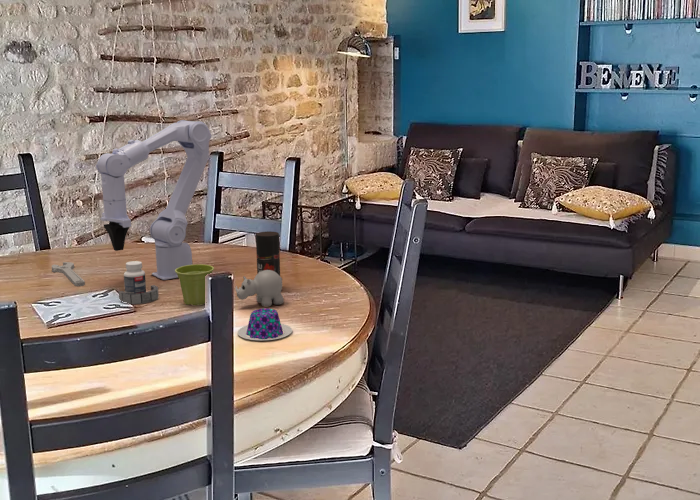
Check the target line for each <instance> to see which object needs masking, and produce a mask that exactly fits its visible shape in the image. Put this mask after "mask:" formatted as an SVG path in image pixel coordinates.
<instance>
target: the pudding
mask: <svg viewBox="0 0 700 500" xmlns="http://www.w3.org/2000/svg"><path fill="white" fill-rule="evenodd" d="M280 319H281V318H280V316H279V312H278V311H277V309H273V308H269V307H267V308H264V307H262V308H258V309H254V310H253V311H252V312H251V313H250V315H249V318H248V324H247V325H244V326H243V327H240V328H239V329H238V330H237V335H238V336H240V338H243V339H245V340H251V341H272V340H280V339H283V338H285V337H287V336H289V335H291V334H292V332H293V328H292V327H291V326H289V325H287V324H285V323H282V322H281V320H280Z"/></svg>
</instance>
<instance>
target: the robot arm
mask: <svg viewBox="0 0 700 500" xmlns="http://www.w3.org/2000/svg"><path fill="white" fill-rule="evenodd" d="M211 139H212V133H211V131H210V129H209V126H208V125H207V124H206V123H205V122H203V121H199V120H196V121H195V120H194V121H193V120H185V119H181V120H178V121H176V122H173V123H170V124H169V125H168V126H166V127H165V128H163V129H161V130H160V131H158V132H157V133H155V134H153V135H151V136H149V137H148V138H146V139H145V140H139V139H135V140H134V139H129V140H127V144H125V145H123V146H121V147H119V148H117V147H115V148H113V149H112V152H111V153H109V152H106V153H102V155H100V157H99V158H98V160H97V164H95V168H96V170H97V171H98V173H99V174H100V176H101V177H100V178H101V188H102V189H101V191H102V202H103V212H101V217H100V218H99V220H100V221H102V222H105V221H106V222H108V223H107V224H103V228H104V229H105V231H106V232H107V235H108V237H109V239H110V242H111V246H112V249H113V250H114V251H115V252H120V251H123V250H124V247H125V242H126V237H127V234H128V231H129V229H130V228H132V219H130V218H129V215H128V209H127V197H126V184H125V175H126V173H127V171H128V170H129V169H131V168H132V167H134V166H136V165H138V164H140V163H142V162H144V161H147V159H148V158H149V155H150V153H151V152H154V151H156V150H157V149H159V148H161V147H164V146H166V145H168V144H170V143H172V142H177V143H178V144H179V145H180V146H181V147H182V149H183V150H184V152H185V154H186V156H187V157H186V160H185V163H184V165H183V167H182V170H181V172H180V174H179V177H178V179H177V182H176V183H175V186H174V189H173V191H172V193H171V196H170V198H169V201H168V203H167V206H166V208H165V209H163V210H161V211H160V212H159V213H158V216H157V218H155V219H154V220H153V221H152V223H151V224H150V227H149V235H150V237H151V238H152V239H153V241H154V249H155V261H156V262H155V263H156V271H155V272H152V273H151V276H154V277H155V278H158V279H161V280H162V281H166V280H167V281H168V280H171V279H179V278H178V275H177V273H176V272H175V269H177V268H179V267H182V266H186V265H193V253H192V248H191V246H190V244H189V243H188V242H184V240H185V239H186V234H187V232H186V231H187V226H188V220H187V217H186V213H188V212H187V211H188V209H189V206H190V204H191V202H192V199H193V197H194V195H195V192H196V189H197V187H198V186H199V185H198V184H199V182H200V180H201V177H202V175H203V172H204V170H205V168H206V165H207V163H208V160H209V159H210V158H209V155H210V141H211Z"/></svg>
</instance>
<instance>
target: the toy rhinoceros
mask: <svg viewBox="0 0 700 500" xmlns="http://www.w3.org/2000/svg"><path fill="white" fill-rule="evenodd" d="M234 289H235V290H234V291H235V292H236V297H237V298H238V299H239V300H243V301H244V300H245V299H247V298H248V297H252V296H254V295H256V302H257V303H259V304H261V306H262V307H263V308H264V307H265V308H266V307H267V308H269V307H271V306H272V305H273V304H274V305H276V306H277V305H282V304H283V303H284V302H285V301H284V300H285V299H284V296H283V294H282V289H283V278H282V277H281V275H280V276H279V275H278V274H277V273H276V272H274V271H272V270H264V271H261V272H259V273H258V274H256V275H255V277H254V278H253V279H251V278H247V277H246V276H245V275H244V276H243V281H242V282H241V286H239V288H238V285H236V286H235V288H234Z"/></svg>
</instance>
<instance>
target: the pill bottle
mask: <svg viewBox="0 0 700 500" xmlns="http://www.w3.org/2000/svg"><path fill="white" fill-rule="evenodd" d="M125 269H126V271H125V272H124V273H123V285H124V292H125V293H144V292H147V286H146V285H147V284H146V283H147V281H146V272H145V270H143V262H142V261H140V260H139V261H138V260H137V261H136V260H134V261H133V260H132V261H127V262H125Z"/></svg>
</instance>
